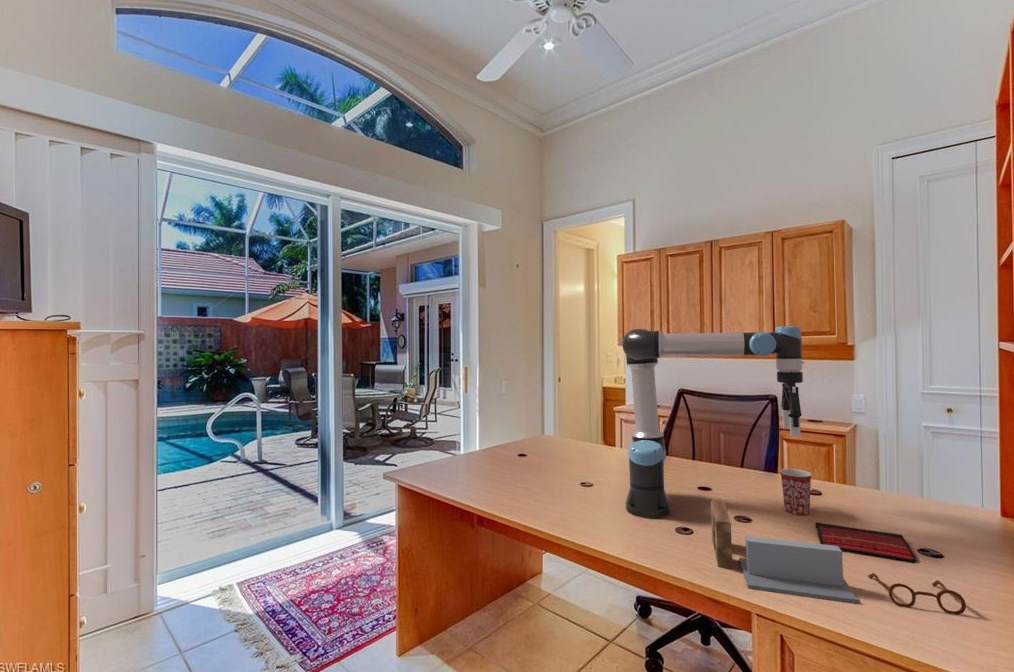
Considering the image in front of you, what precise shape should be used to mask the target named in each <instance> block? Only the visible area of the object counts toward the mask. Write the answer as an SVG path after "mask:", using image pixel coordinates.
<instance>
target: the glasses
mask: <svg viewBox="0 0 1014 672" xmlns="http://www.w3.org/2000/svg"><path fill="white" fill-rule="evenodd" d="M867 577H868V578H869V579H872V578H875V579H876V581H877V582H878V584H879V585H881V586H882V587H883V588H884V589H886V590H887V591H888V596H889V599H890V600H891V602H892V603H894V604H895V605H896V606H898V607H903V608H912V607H914V605H916V599H917V598H916V597H917V596H921V595H922V596H927V597H933V598H936V602H937V604H938V607H939V608H940V609H941V610H942V611H943V612H945V613H947V614H951V615H962V614H963V613H964V612H965V610H966V608H967V605H966V601H965V599H964V597H963V596H962V595H961V594H960V593H958V592H957V591H955V590H950V589H948V588H946V586H945V585H944V583H942V582H941V581H940V580H939V579H937V580H935V581H934V582H932V583H931V584H932V585H933V586H932V585H931V586H932V587H937V586H938V585H939V586H940V587H941V589H942V590H939V591H938V592H937V593H936V594H935V593H932V592H928V591H927V592H926V591H914V590H913V588H911V587H910V586H908V585H906V584H903V583H893V584H891V585H890V586H888V585H887V584H885V583H884V582H883V581H882V580H881V579H880V578H879V576H878V575H877V574H876V573H875V572H873V573H870V574H868V575H867ZM897 587H899V588H900V587H901V588H905V589H907V590H908V591H909V592H910V594H911V601H910V602H909V603H905V604H904V603H899V602H898V601H897V600H895V597H894V596H893V591H894V589H896V588H897ZM944 594H949V595H950V596H952V597H954V598H955V599H957V600H959V601H960V603H961V604H960V605H961V607H960V609H958V610H955V611H954V610H949V609H947V608H945V607H944V606H943V604H942V600H941V597H942V596H943V595H944Z"/></svg>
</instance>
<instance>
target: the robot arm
mask: <svg viewBox="0 0 1014 672" xmlns="http://www.w3.org/2000/svg"><path fill="white" fill-rule="evenodd" d="M801 331H802V330H801V328H800V327H799V326H797V325H796V326H795V325H794V326H793V325H789V326H776V327H775V330H774V332H766V331H761V332H760V331H759V332H708V333H707V332H706V333H705V332H699V333H698V332H697V333H695V332H694V333H690V332H688V333H663V332H662V331H660V330H649V329H648V330H647V329H646V328H634V329H631V330H629V331H628V332H626V333H625V335H624V336H623V339H622V341H621V346H622V350H623V352H624V354H625V359H626V360H625V361H626V365H627V366H628V367H629V368H630V370H631V384H632V398H633V408H634V409H633V410H634V423H635V430H634V432H633V433H632V434H631V435H632V436H631V438H632V443H630V444H629V448H628V453H627V454H628V458H629V460H628V461H629V462H628V463H629V490H628V494H627V497H626V500H625V510H626V511H627V513H630V514H632V515H634V516H636V517H640V518H641V517H643V518H649V519H654V518H655V519H656V518H657V519H658V518H664V517H666V516H668V515H670V514H671V503H670V501H669V498H668V496H667V493H666V490H665V471H664V470H665V469H664V467H665V461H666V457H667V449H666V446H665V437H664V434H665V433H663V432H662V431H661V430H660V426H659V425H660V423H659V413H658V401H657V400H658V399H657V387H656V375H655V374H656V373H655V367H656V366H657V365H658V364H659V360H658V359H661V358H663V356H758V357H767V356H770V355H776V356H775V357H776V358H775V360H776V361H775V362H776V366H775V367H776V370H777V372H776V380H777V382H778V383H781V386H782V387H781V388H782V393H781V404H780V406H781V409H782V428H783V430H790V431H789V432H790V433H789V434H790V437H791V438H801V437H802V435H801V417H802V415H803V414H802V410H801V402H800V393H799V386H797V385H796V384H802V383H803V382H804V378H803V377H804V376H803V375H804V374H803V373H804V372H802V370H803V365H804V364H805V361H803V352H802V351H803V346H802V344H803V343H802V340H803V339H802V332H801Z"/></svg>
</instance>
